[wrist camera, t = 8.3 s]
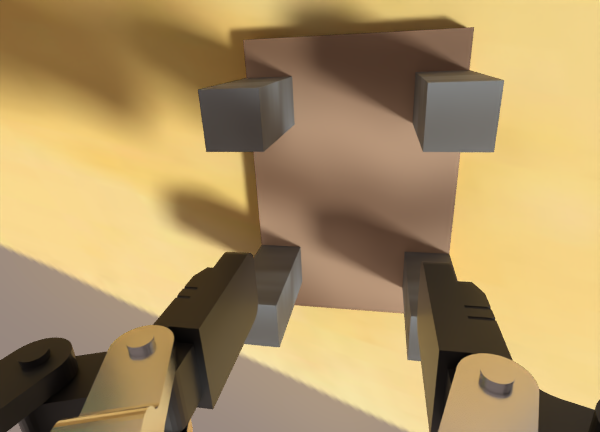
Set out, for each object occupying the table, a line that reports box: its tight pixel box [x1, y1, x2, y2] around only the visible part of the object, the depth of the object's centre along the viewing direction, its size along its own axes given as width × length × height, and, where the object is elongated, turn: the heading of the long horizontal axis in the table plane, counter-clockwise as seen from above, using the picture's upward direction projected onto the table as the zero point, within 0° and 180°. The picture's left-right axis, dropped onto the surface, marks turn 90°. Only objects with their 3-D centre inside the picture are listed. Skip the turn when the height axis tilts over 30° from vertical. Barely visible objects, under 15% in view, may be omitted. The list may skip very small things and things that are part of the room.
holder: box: [198, 27, 504, 361], centre depth 16 cm, size 13×9×6 cm
